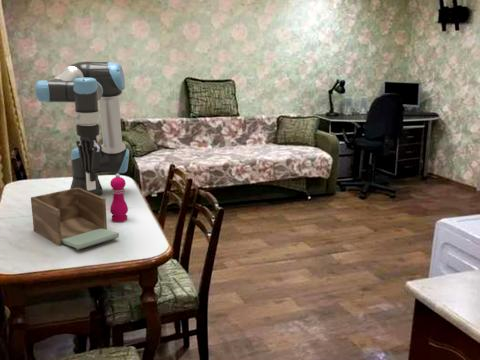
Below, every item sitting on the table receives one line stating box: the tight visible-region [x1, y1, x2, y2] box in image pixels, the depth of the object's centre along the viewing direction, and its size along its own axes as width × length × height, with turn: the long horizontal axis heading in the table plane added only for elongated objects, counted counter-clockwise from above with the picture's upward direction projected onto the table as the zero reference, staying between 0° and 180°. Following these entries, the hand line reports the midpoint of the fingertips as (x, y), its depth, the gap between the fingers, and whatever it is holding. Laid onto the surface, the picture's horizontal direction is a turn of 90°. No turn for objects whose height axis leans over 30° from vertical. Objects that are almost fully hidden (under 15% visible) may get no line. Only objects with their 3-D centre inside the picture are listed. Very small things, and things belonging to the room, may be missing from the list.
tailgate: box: [62, 228, 120, 251], centre depth 181 cm, size 17×2×12 cm
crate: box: [30, 187, 108, 247], centre depth 189 cm, size 20×20×14 cm
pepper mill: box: [109, 173, 129, 223], centre depth 202 cm, size 7×7×20 cm
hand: (91, 189), depth 174 cm, fingers closed
